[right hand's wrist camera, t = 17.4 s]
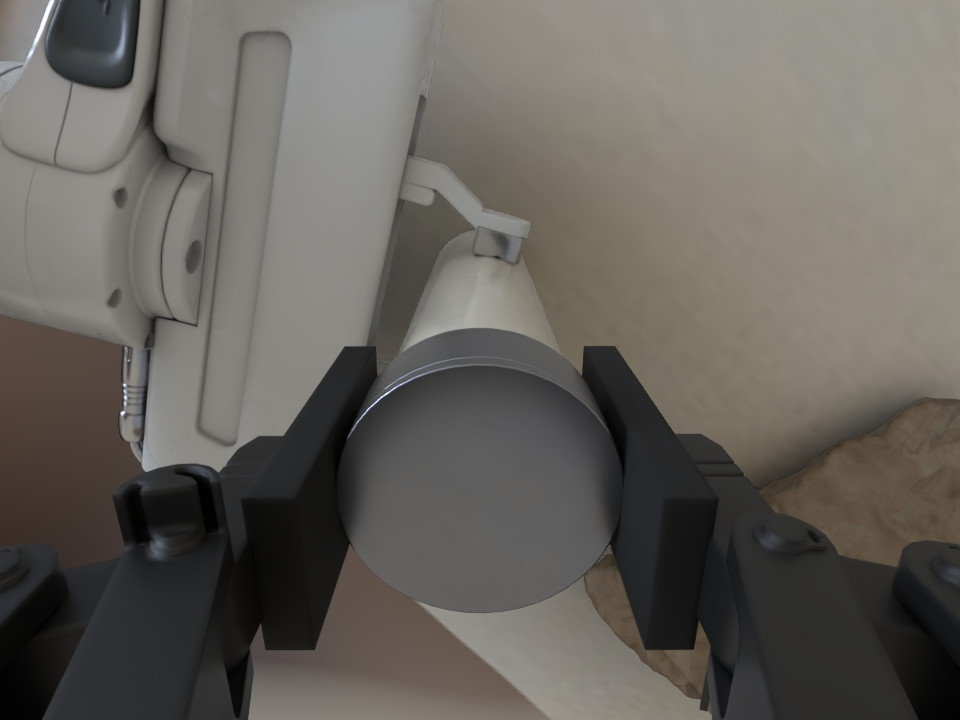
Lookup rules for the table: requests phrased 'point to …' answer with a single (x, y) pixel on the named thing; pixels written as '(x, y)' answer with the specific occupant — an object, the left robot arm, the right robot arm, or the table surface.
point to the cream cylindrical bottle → (478, 296)
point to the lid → (479, 473)
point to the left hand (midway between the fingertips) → (502, 317)
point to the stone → (835, 515)
